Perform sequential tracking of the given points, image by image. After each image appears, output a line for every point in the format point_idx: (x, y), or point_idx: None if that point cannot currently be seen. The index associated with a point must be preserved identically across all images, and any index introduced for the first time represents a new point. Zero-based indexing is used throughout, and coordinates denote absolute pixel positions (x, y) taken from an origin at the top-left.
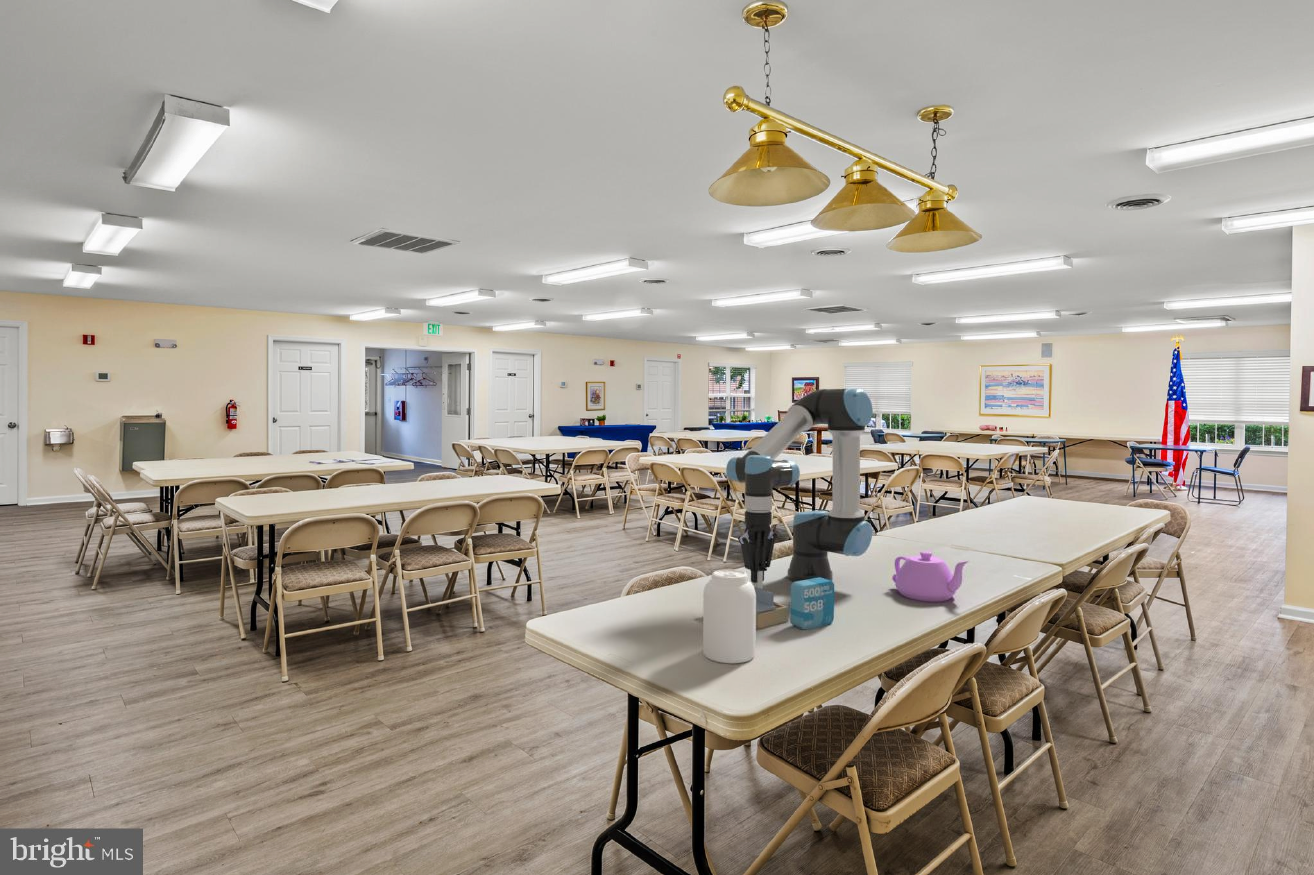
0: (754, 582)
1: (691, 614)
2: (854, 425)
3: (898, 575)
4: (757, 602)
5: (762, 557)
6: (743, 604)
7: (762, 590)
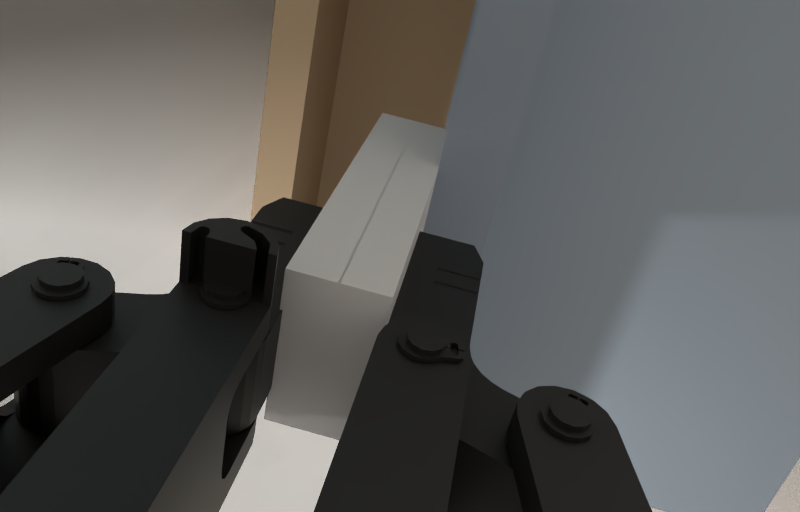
0: (474, 250)
1: (783, 495)
2: None
3: None
4: (556, 58)
5: (148, 498)
6: None
7: (526, 37)
